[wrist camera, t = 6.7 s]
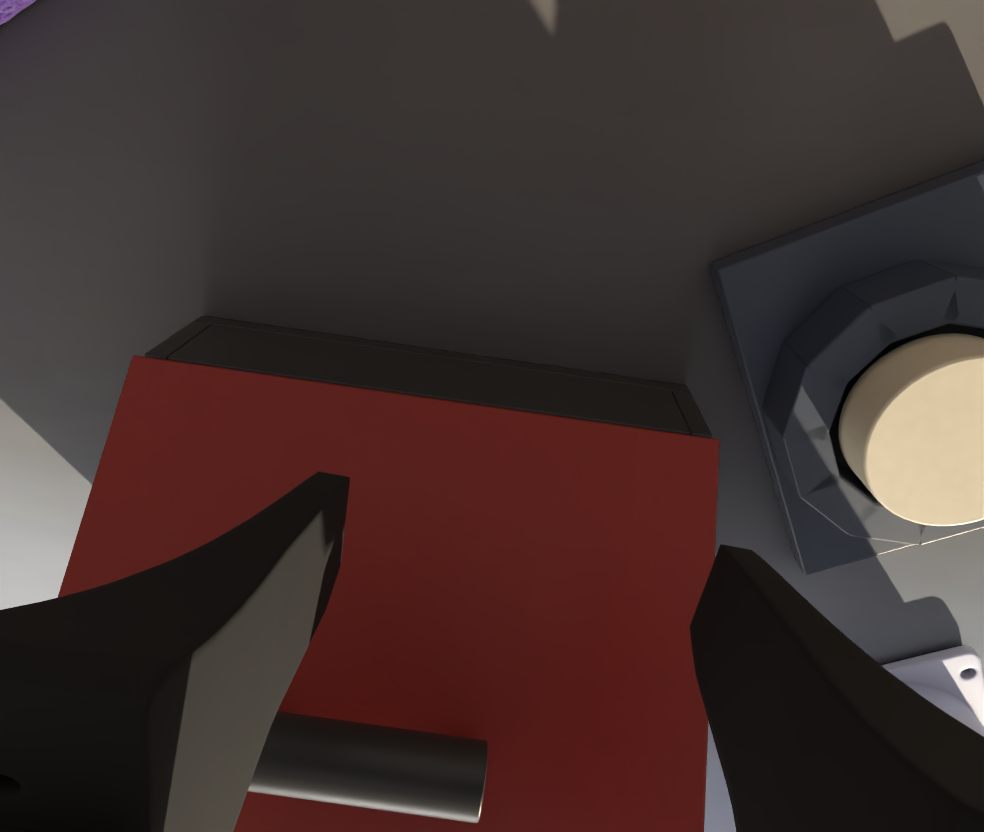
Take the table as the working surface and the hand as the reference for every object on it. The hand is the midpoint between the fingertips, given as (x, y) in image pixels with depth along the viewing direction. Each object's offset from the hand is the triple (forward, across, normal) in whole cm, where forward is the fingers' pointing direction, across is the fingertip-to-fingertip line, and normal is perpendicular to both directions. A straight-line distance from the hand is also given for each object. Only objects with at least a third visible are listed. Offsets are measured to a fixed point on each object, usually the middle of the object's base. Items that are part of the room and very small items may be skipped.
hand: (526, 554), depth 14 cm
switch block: (+10, -11, -2) cm, 14 cm away
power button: (+7, -11, -2) cm, 13 cm away
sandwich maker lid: (+2, +2, +4) cm, 5 cm away
